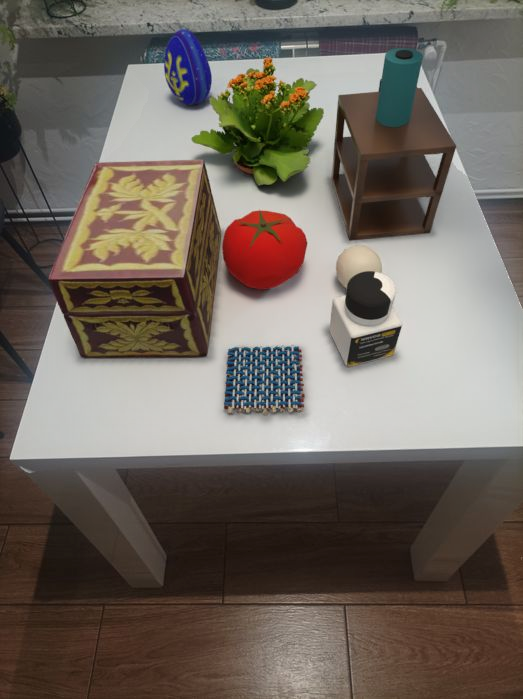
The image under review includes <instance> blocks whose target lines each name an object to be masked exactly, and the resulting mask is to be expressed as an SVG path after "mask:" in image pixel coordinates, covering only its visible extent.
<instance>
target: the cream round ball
mask: <svg viewBox="0 0 523 699" xmlns="http://www.w3.org/2000/svg"><path fill="white" fill-rule="evenodd" d="M382 264H383V263H382V260H381V258H380V256H379V254H378V253H377V252H376V250H374V249H372V248H371V247H369V246H367V245H363V244H357V245H352V246H349V247H347V248H345V249H344V250H343V251H342V252H341V253H340V254H338V256H337V260H336V264H335V272H336V276H337V279H338V281H339V283H340V284H341V285H342V286H343V287H344V288H346V289H347V284H348V282H349V280H350V279H351V278H352V277H353V276H355V275H356V274H358V273H361V272H365V271H374V272H379V273H382V272H383V265H382ZM382 274H383V273H382Z"/></svg>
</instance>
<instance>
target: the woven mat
mask: <svg viewBox="0 0 523 699" xmlns="http://www.w3.org/2000/svg"><path fill="white" fill-rule="evenodd" d="M300 353H302V349H301V348H300V347H299V345H298V346H295V345H293V344H291V346H289V345H286V346H285V345H281V346H280V345H278V344H275V347H274V346H273V345H271V346H269V345H267V346H262V345H260V346H258V345H257V346H254V347H253V346H250V347H248V346H244V347H242V346H235V347H232V348H228V349H227V353H226V355H227V361H226V365H227V366H226V371H225V374H226V376H225V391H224V401H223V405H224V406H223V409H225V410H227V413H230V414H231V413H234V410H236V409H237V413H239V414H241V413H243V410H245V412H246V413H250V412H251V410H252V409H253V412H256V413H258V412H260V409H262V414H263V415H265V416H267V415H268V414H269V410H270V412H271V413H277V410H279V412H280V413H284V412H285V409H286V408H287V409H288V412H289V413H292V412H293V411H294V409H296V413H302V412H303V411H302V410H303V409H302V408H304V407H305V403H304V401H305V399H304V398H306V395H305V393H302V392H304V386H305V384H304V383H302V382H303V381H304V380H303V367H304V366H303V364H301V363H302V362H303V354H300Z"/></svg>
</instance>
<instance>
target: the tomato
mask: <svg viewBox="0 0 523 699" xmlns="http://www.w3.org/2000/svg"><path fill="white" fill-rule="evenodd" d="M221 246H222V248H221V250H222V259H223V261H224V264H225V267H226V268H227V270H228V272H229V273H230V274H231V275H232V277H233V278H235V279H236V280H237V281H239V282H240V283H241V284H243V285H245V286H246V287H247V288H250V289H258V290H269V289H274V288H276V287H278V286H280V285H283V284H284V283H286V282H287V281H289V280H290V279H292V278H293V277H294V276H296V275H297V274H298V273H299V271H300V269H301V268H302V266H303V265H304V262H305V258H306V252H307V248H308V240H307V237H306V234H305V232H304V231H303V229H302V228H300V227H299V226H298V225H296V223H295V222H294V220H292V218H291V217H290V216H288V215H287V214H285V213H281V212H276V211H271V210H261V209H258V210H252V211H251V212H249V213H247V214H246V215H244V216H243V217H240V218H235V219H234V220H233V221H232V222H231V223H230V224H229V225H228V226H227V227H226V229H225V231H224V234H223V238H222V245H221Z"/></svg>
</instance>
